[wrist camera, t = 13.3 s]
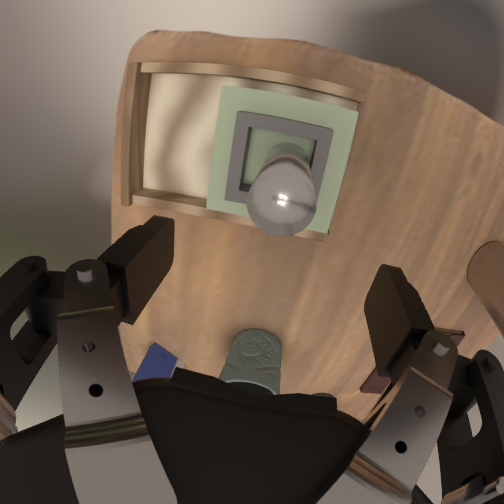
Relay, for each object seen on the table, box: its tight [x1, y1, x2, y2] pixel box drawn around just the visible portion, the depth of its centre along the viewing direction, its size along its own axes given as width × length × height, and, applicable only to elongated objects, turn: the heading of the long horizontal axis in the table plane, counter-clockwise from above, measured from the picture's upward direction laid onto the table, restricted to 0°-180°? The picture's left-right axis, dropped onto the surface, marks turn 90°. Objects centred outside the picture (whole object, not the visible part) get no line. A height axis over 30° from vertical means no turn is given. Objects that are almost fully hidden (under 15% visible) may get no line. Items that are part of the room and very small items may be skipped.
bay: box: [121, 62, 366, 242], centre depth 31 cm, size 26×18×5 cm
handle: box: [247, 142, 316, 237], centre depth 21 cm, size 4×4×12 cm
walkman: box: [132, 343, 185, 382], centre depth 50 cm, size 8×3×12 cm, turn 47°
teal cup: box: [218, 329, 281, 395], centre depth 44 cm, size 10×10×12 cm
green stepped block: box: [206, 85, 359, 234], centre depth 28 cm, size 13×13×8 cm
